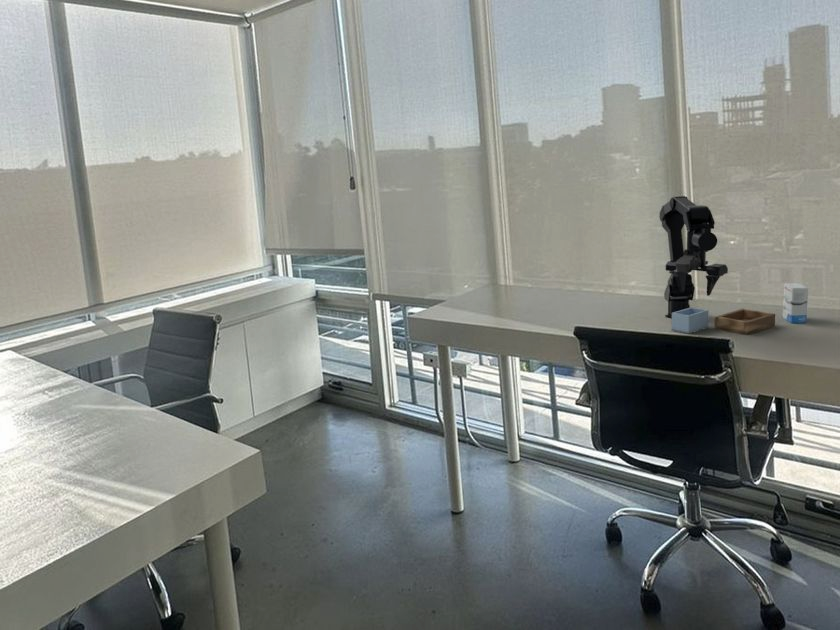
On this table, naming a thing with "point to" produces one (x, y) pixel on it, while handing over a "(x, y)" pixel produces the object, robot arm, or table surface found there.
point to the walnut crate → (745, 321)
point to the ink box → (795, 302)
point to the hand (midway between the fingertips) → (695, 293)
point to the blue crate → (689, 320)
